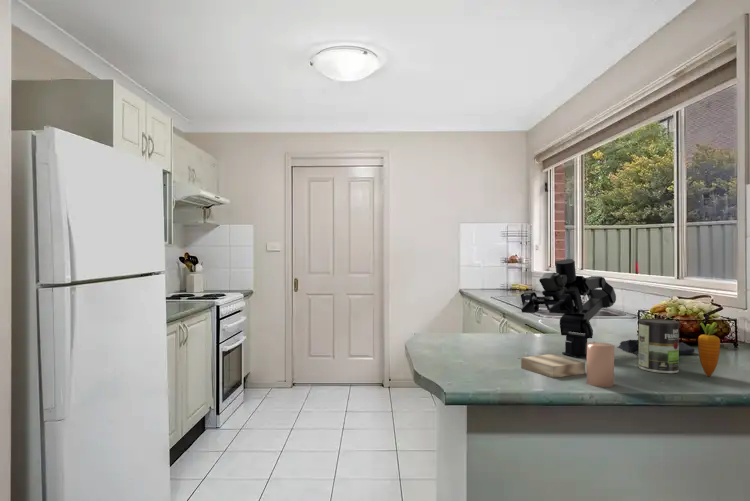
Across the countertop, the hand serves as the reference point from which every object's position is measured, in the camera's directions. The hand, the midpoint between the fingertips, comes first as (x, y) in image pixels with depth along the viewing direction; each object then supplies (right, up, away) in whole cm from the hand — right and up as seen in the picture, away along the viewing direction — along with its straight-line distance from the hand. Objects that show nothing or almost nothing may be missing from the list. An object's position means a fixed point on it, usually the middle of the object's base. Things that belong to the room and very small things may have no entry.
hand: (535, 310), depth 140 cm
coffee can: (+35, -17, -1) cm, 39 cm away
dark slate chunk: (+50, -18, +25) cm, 58 cm away
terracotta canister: (+11, -17, -17) cm, 26 cm away
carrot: (+45, -17, -8) cm, 48 cm away
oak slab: (+4, -16, -4) cm, 17 cm away
